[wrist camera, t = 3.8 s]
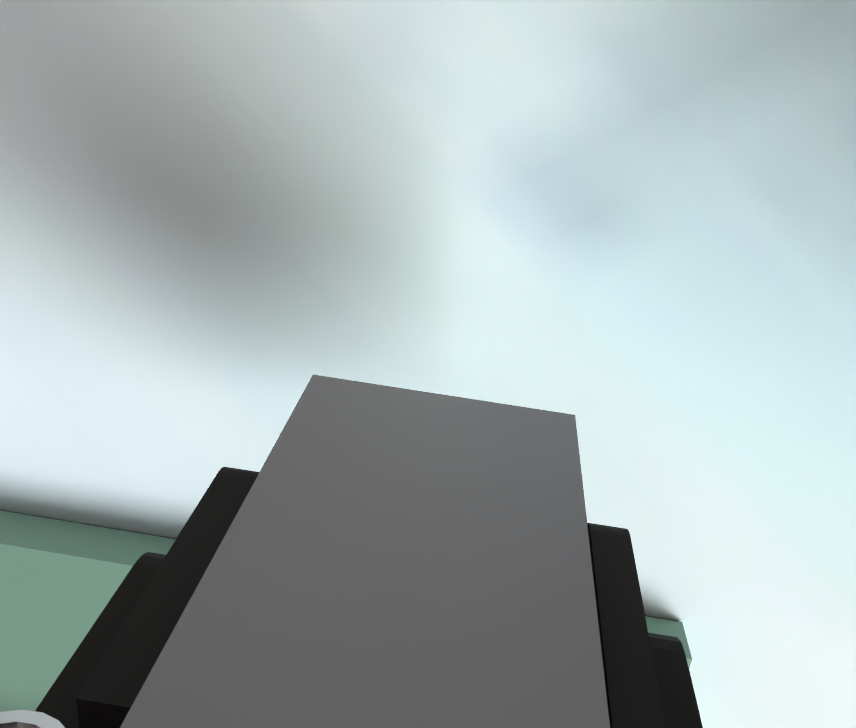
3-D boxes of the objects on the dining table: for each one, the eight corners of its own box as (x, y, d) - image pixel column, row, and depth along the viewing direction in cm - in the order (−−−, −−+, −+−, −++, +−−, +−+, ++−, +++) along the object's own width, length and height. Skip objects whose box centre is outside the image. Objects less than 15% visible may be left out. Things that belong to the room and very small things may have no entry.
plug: (313, 374, 12) (0, 946, 5) (574, 414, 12) (649, 1074, 5) (301, 577, 14) (59, 1217, 7) (529, 615, 14) (533, 1316, 6)
